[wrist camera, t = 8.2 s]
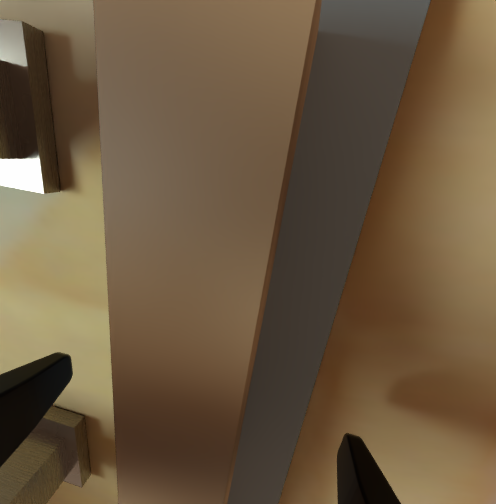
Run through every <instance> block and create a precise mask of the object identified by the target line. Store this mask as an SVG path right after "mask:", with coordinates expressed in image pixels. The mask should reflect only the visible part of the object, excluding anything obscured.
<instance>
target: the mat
mask: <svg viewBox="0 0 496 504" xmlns="http://www.w3.org/2000/svg"><path fill="white" fill-rule="evenodd" d="M430 1H431V0H322V3H321V11H320V20H319V28H318V35H317V40H316V45H315V50H314V55H313V61H312V66H311V71H310V76H309V81H308V87H307V92H306V97H305V102H304V107H303V113H302V118H301V123H300V128H299V133H298V139H297V144H296V149H295V154H294V159H293V165H292V170H291V175H290V180H289V185H288V191H287V196H286V201H285V206H284V211H283V217H282V222H281V227H280V232H279V237H278V243H277V248H276V253H275V258H274V263H273V269H272V274H271V279H270V284H269V289H268V295H267V300H266V305H265V310H264V315H263V321H262V326H261V331H260V336H259V341H258V347H257V352H256V357H255V362H254V367H253V372H252V378H251V383H250V388H249V393H248V398H247V404H246V409H245V414H244V419H243V424H242V430H241V435H240V440H239V445H238V450H237V456H236V461H235V466H234V471H233V476H232V482H231V487H230V492H229V497H228V502H227V504H278V503H279V500H280V496H281V493H282V490H283V486H284V483H285V480H286V477H287V473H288V470H289V467H290V463H291V460H292V457H293V453H294V450H295V447H296V443H297V440H298V437H299V434H300V430H301V427H302V424H303V420H304V417H305V414H306V410H307V407H308V404H309V401H310V397H311V394H312V391H313V387H314V384H315V381H316V377H317V374H318V371H319V367H320V364H321V361H322V358H323V354H324V351H325V348H326V344H327V341H328V338H329V334H330V331H331V328H332V325H333V321H334V318H335V315H336V311H337V308H338V305H339V301H340V298H341V295H342V292H343V288H344V285H345V282H346V278H347V275H348V272H349V268H350V265H351V262H352V258H353V255H354V252H355V249H356V245H357V242H358V239H359V235H360V232H361V229H362V225H363V222H364V219H365V216H366V212H367V209H368V206H369V202H370V199H371V196H372V192H373V189H374V186H375V182H376V179H377V176H378V173H379V169H380V166H381V163H382V159H383V156H384V153H385V149H386V146H387V143H388V140H389V136H390V133H391V130H392V126H393V123H394V120H395V116H396V113H397V110H398V107H399V103H400V100H401V97H402V93H403V90H404V87H405V83H406V80H407V77H408V73H409V70H410V67H411V64H412V60H413V57H414V54H415V50H416V47H417V44H418V40H419V37H420V34H421V31H422V27H423V24H424V21H425V17H426V14H427V11H428V7H429V4H430Z"/></svg>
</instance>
